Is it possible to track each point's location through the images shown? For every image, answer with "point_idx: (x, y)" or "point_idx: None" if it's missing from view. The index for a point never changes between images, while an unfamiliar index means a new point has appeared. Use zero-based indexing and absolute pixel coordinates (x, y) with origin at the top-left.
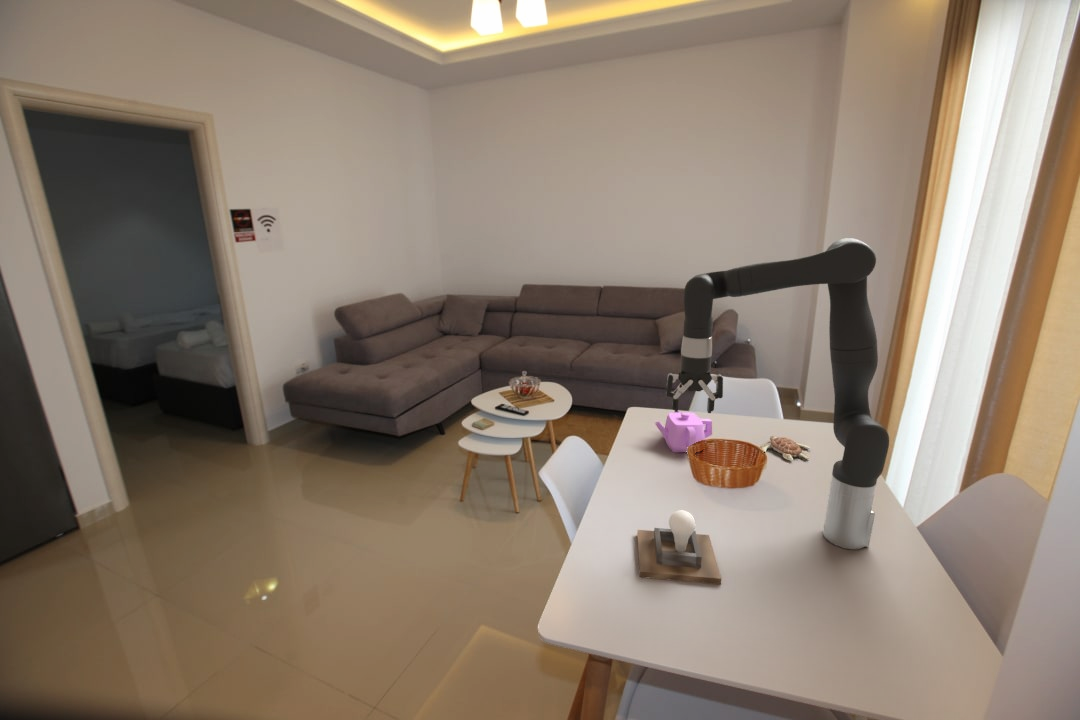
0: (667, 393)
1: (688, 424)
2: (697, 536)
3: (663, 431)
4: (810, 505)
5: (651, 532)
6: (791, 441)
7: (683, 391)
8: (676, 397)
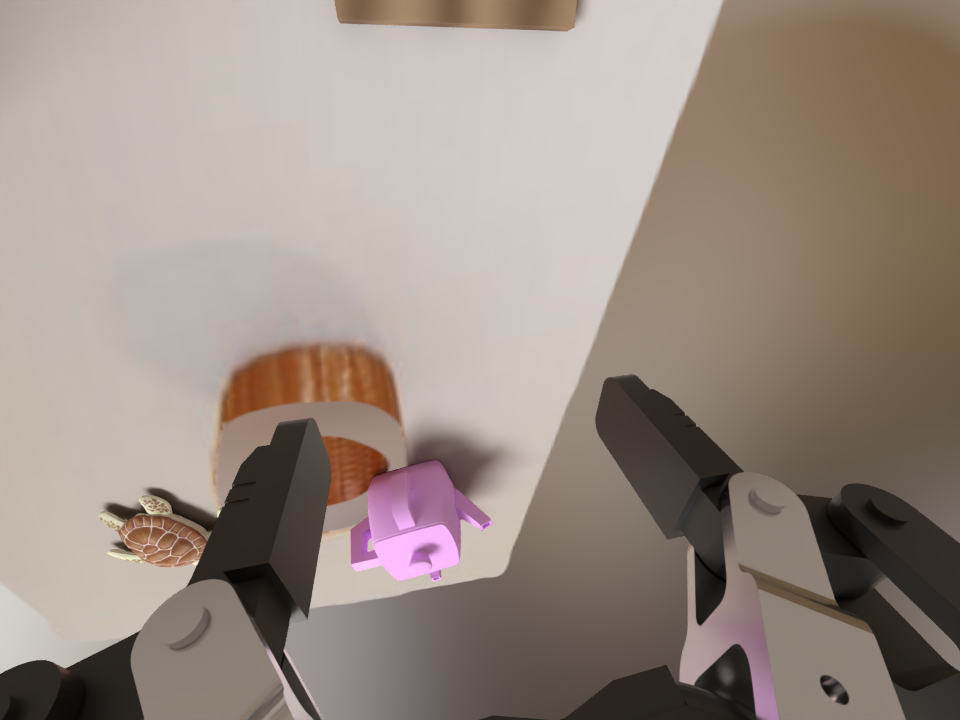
0: (921, 522)
1: (411, 534)
2: (378, 1)
3: (467, 506)
4: (33, 306)
5: (532, 11)
6: (144, 556)
7: (782, 626)
8: (756, 493)
